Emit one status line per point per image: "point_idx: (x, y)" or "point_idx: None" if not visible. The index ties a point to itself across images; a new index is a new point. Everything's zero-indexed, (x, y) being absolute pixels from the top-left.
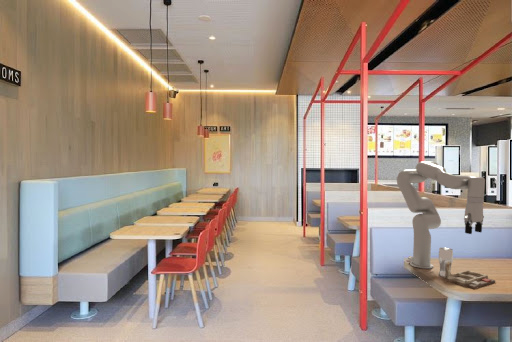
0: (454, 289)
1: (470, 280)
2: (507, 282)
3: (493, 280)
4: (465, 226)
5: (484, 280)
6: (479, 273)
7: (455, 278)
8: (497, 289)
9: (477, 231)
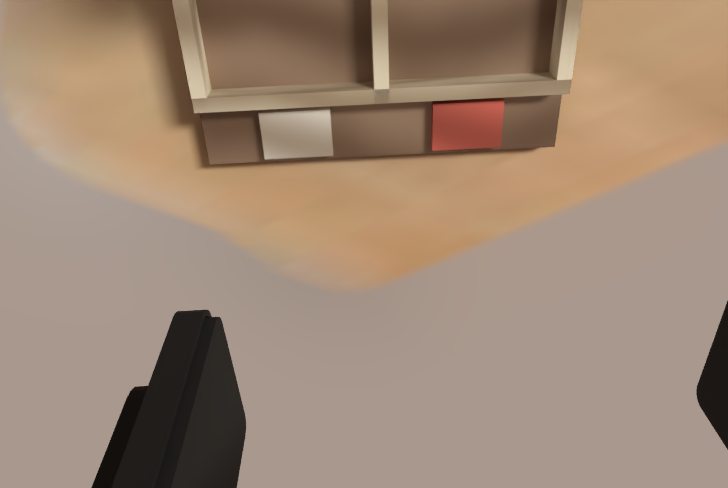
0: (37, 95)
1: (260, 109)
2: (640, 177)
3: (533, 143)
4: (119, 479)
5: (432, 129)
6: (578, 13)
7: (173, 1)
8: (380, 231)
9: (720, 338)
